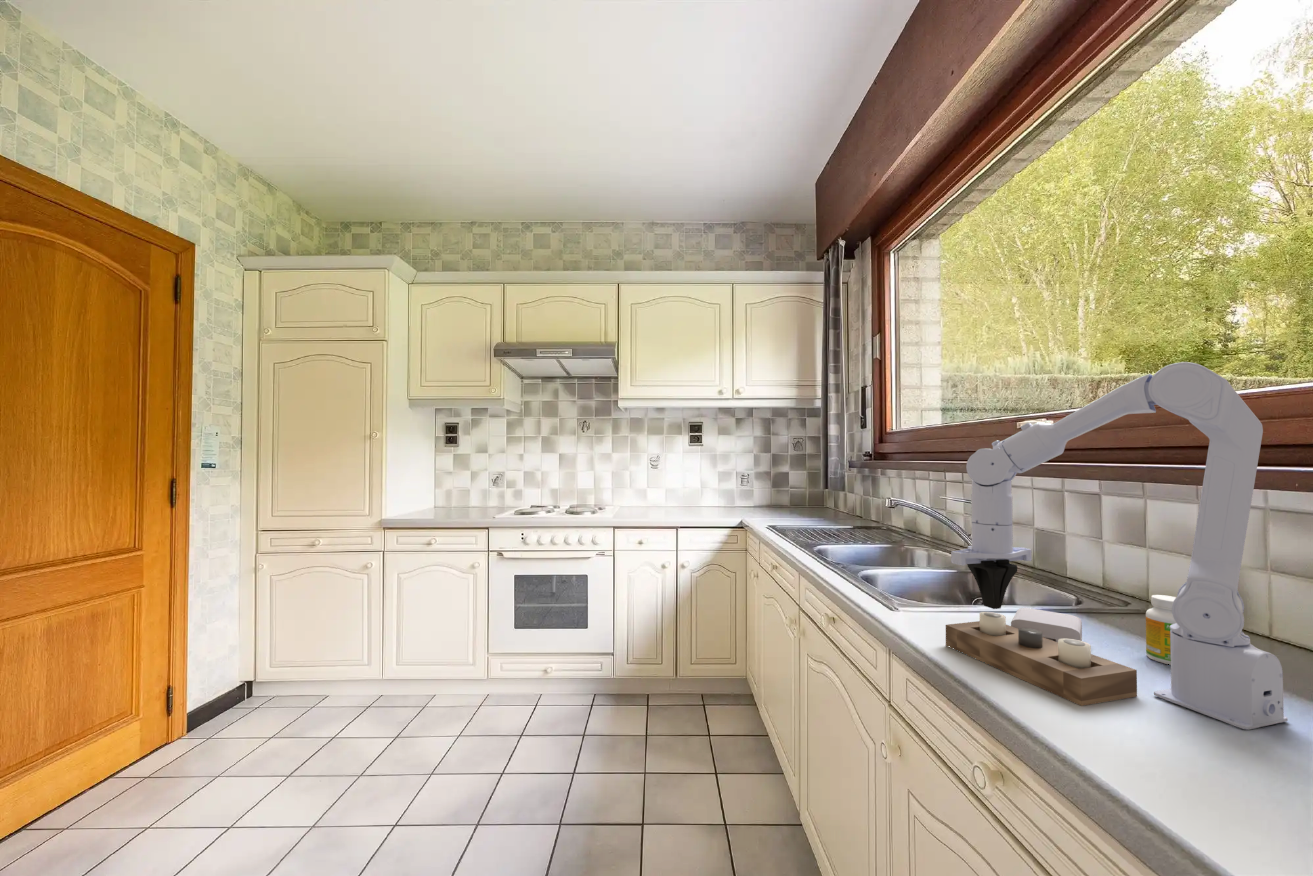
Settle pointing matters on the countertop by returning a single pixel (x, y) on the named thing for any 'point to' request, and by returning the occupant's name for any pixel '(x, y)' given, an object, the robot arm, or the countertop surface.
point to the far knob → (992, 624)
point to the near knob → (1074, 653)
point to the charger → (1049, 623)
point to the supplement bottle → (1159, 628)
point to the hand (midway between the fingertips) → (992, 607)
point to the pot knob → (1030, 638)
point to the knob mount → (1045, 665)
